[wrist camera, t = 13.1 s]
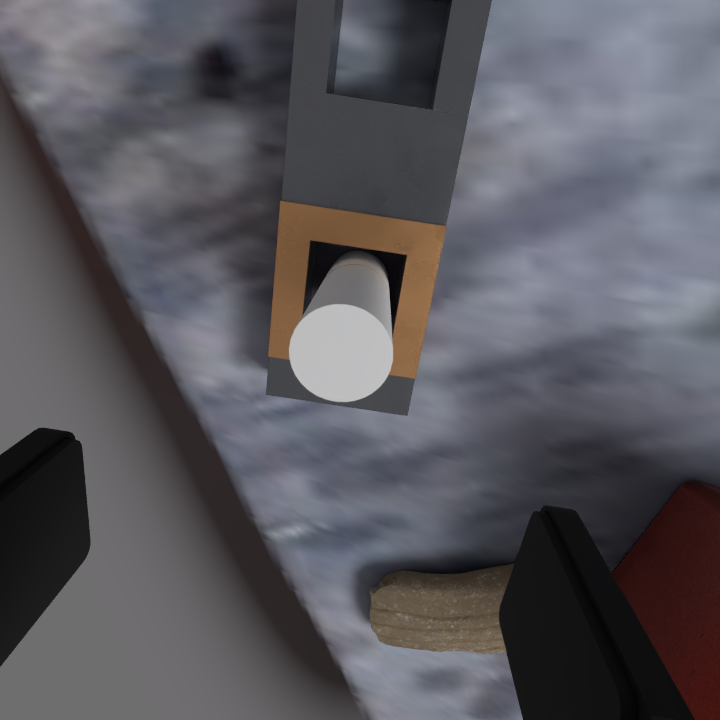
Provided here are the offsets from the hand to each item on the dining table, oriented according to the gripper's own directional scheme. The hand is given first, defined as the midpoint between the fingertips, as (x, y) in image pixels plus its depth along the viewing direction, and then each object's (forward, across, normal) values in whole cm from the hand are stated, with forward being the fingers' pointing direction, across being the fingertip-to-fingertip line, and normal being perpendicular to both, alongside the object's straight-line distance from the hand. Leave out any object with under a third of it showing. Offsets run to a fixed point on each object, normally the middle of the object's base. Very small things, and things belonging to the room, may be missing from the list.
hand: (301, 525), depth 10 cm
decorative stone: (+26, -12, +28) cm, 40 cm away
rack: (+25, 0, -7) cm, 26 cm away
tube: (+25, 0, 0) cm, 25 cm away
